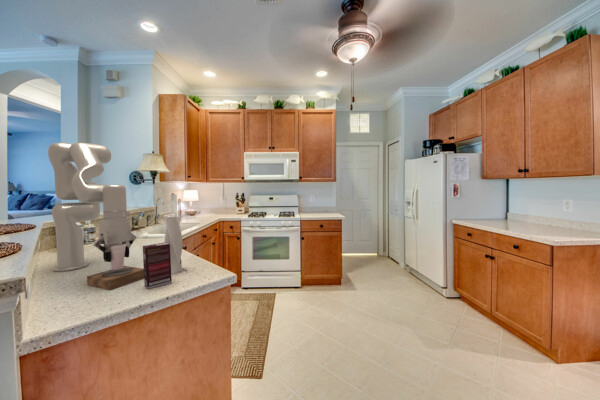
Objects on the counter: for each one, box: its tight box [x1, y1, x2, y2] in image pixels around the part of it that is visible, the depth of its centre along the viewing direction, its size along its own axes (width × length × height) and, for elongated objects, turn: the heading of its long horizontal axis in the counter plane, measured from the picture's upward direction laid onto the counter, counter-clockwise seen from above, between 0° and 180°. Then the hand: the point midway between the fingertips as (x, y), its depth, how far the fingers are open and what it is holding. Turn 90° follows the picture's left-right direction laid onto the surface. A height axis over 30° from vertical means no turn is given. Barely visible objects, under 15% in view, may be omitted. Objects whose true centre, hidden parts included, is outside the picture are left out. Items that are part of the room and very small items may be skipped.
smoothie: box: [109, 243, 126, 270], centre depth 97 cm, size 6×6×14 cm
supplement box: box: [142, 241, 173, 290], centre depth 93 cm, size 9×5×16 cm, turn 134°
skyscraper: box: [163, 210, 188, 275], centre depth 109 cm, size 8×8×28 cm
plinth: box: [86, 265, 144, 291], centre depth 98 cm, size 14×14×4 cm
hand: (117, 258), depth 97 cm, fingers closed on smoothie, 6 cm apart
